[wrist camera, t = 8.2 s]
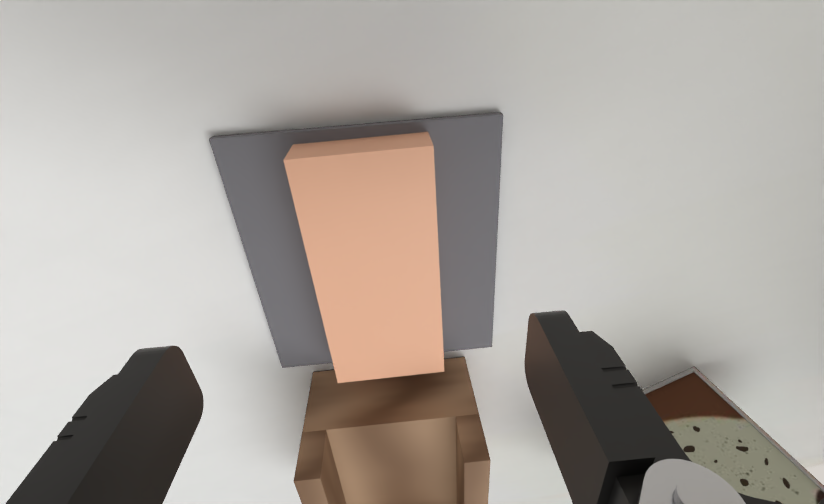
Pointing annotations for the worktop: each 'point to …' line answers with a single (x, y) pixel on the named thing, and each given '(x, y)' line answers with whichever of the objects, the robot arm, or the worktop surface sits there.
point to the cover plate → (372, 251)
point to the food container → (730, 441)
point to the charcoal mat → (283, 244)
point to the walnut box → (393, 440)
